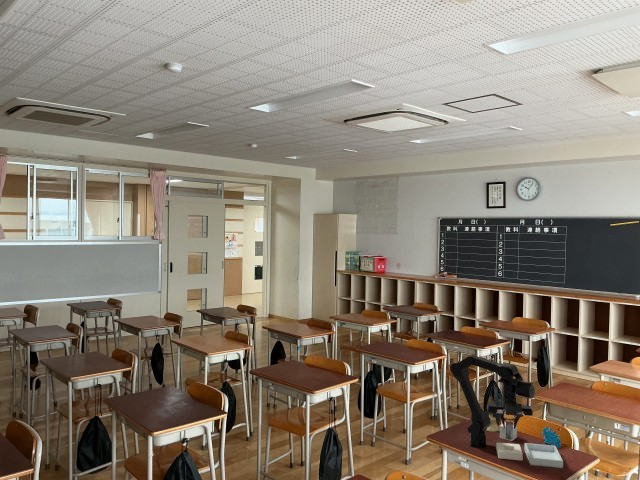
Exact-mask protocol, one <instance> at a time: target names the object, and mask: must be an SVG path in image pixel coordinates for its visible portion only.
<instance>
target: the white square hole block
mask: <svg viewBox="0 0 640 480" xmlns="http://www.w3.org/2000/svg"><path fill="white" fill-rule="evenodd" d="M495 450H496V454H497V457H498V459H503V460H511V461H512V460H514V461H523V456H524V453H523V451H522V448H521V445H520V444H519V443H508V442H507V443H506V442H497V441H496V443H495Z"/></svg>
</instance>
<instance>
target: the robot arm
mask: <svg viewBox="0 0 640 480" xmlns="http://www.w3.org/2000/svg"><path fill="white" fill-rule="evenodd" d="M472 366H474V367H478V368H481V369H484V370H487V371H490V372H492V373H495V374H496V375H498V377H500V378H499V379H497V383H501V384H502V405H497V403H496V402H494V403H487V404H486V409H487V410H483V408H482V407H481V405H480V402H479V400H478V398H477V396H476V393H475V391H474V390H475V389H474V388H473V385H472V383H471V381H470V380H471V379H470V370H469V368H470V367H472ZM449 370H450V372H451V374H452V376H453V377H454V378H455V380H456V381H458V383H459V385H460V387H461V391H462V393H463V395H464V398H465V400H466V402H467V405H468V407H469V410H470V412H471V413H470V414H471V415H470V420H471V425H469V426H468V427H467V432H468V433H469V434H470V435H469V436H470V439H469V444H470V447H473V448H474V447H475V448H484V449H485V448H486V446H487V435H486V433H485V431H486V430H487V428H488V427H489V426H490V424H491V422H490V420H491V418H490V417H489V413H493V414H496V415H497V416H499V417H500V420H501V424H503V426H504V428H505V422H506V421H504V417H505V415H506V416H514V417H513V418H514V419H515V422H513V424H514V429H515V427H516V425H517V426H518V422H519V420H520V418H524V416H527V417H532V416H533V415H534V414H533V408H532V406H530V405H526V404H525V405H523V404H522V403H517V396H518V397H522V398H526V399H534V397H535V394H536V393H535V391H536V389H535V386H534V385H533V382H532V381H524V378H523V376H521V373H520V372H519V369H518V367H517V366H516V365H515V364H512V363H503V362H496V361H493V360H491V359H487V358H483V357H481V356H477V355H476V354H470V355H468V356H467V357H466V358H463V359H461V360H459V361H456V362H453V363H451V365H450V366H449Z"/></svg>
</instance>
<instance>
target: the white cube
mask: <svg viewBox="0 0 640 480" xmlns="http://www.w3.org/2000/svg"><path fill="white" fill-rule="evenodd" d="M499 428H500V430H499V438H500V439H503V440H507V441H510V442H513V441H514V440H515V439H516V438H517V437H518V424H517V425H516V427H515V429H514V423H513V439H512V440H508V439H506V421H505V428H504V426H503V423H501V424H500V425H499Z"/></svg>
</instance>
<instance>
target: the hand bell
mask: <svg viewBox="0 0 640 480" xmlns="http://www.w3.org/2000/svg"><path fill="white" fill-rule="evenodd" d="M488 403H495V402H494V398H493V397H492V396H489V399H488ZM488 403H487V404H488ZM493 414H494V413H489V412H488V415H489V417H490V418H491V420H490V422H491V424H490V426H489V427H488V428H487V430H485V431H486V432H487V431H488V432H490V433H491V432H493V433H494V432H495V433H496V432H500V426H499V425H498V423H497V420H496V417H494V416H493Z"/></svg>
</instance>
